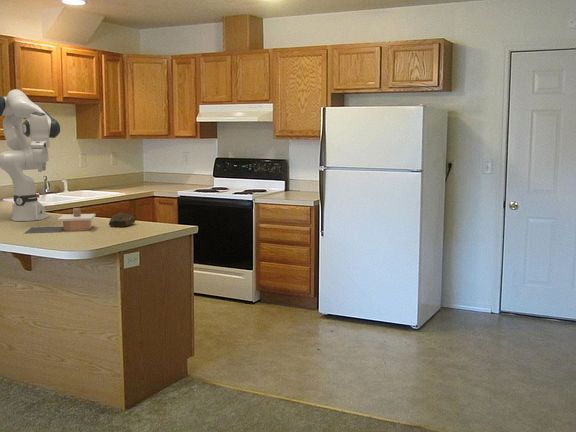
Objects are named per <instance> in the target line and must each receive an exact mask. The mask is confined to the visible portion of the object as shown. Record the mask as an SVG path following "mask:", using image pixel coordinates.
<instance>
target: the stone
mask: <svg viewBox="0 0 576 432" xmlns="http://www.w3.org/2000/svg"><path fill="white" fill-rule="evenodd" d="M135 222H136V218H135V217H134V216H133V215H131V214H129V213H125V212H117V213H116V214H115V215H113V216H111V218H110V219H109V222H108V225H109V226H110V227H113V228H119V229H121V228H123V227H127V226H131V225H133V224H134V223H135Z"/></svg>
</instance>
